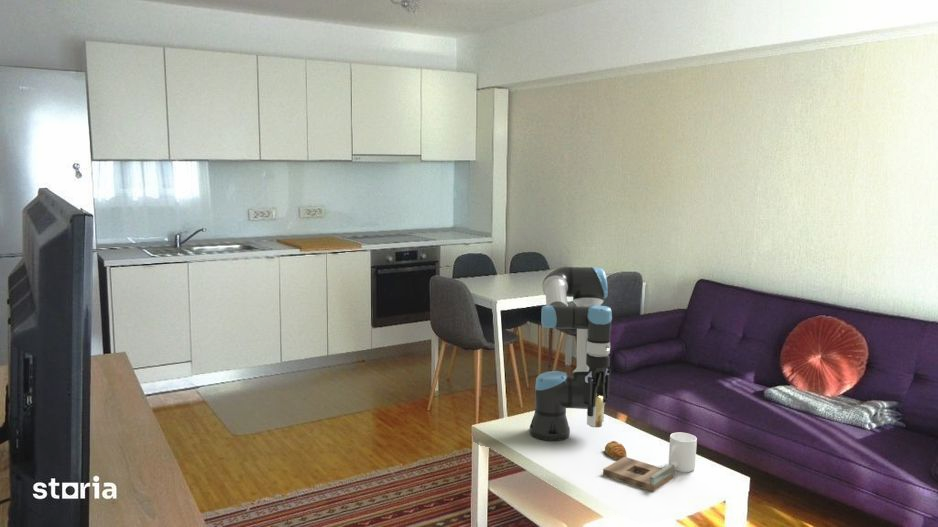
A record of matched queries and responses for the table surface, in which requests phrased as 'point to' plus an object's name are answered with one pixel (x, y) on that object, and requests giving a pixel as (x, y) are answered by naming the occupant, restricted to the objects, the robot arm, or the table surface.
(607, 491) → the table surface
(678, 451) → the mug
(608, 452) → the pastry
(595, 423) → the brass cylinder rod
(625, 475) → the jig
